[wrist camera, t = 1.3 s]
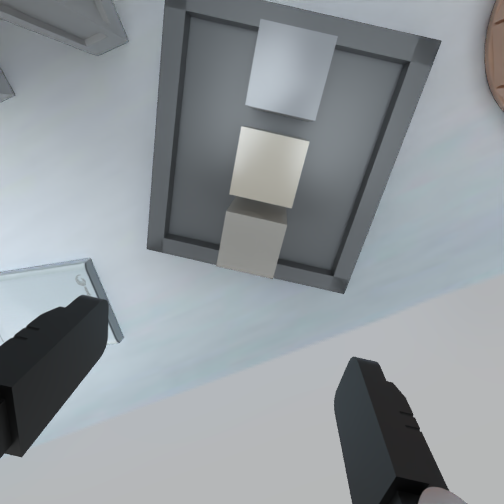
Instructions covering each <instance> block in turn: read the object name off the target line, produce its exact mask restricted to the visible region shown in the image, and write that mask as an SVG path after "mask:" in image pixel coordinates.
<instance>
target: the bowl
mask: <svg viewBox="0 0 504 504" xmlns="http://www.w3.org/2000/svg"><path fill="white" fill-rule="evenodd" d="M485 68H486V76H487V80H488V83H489V87H490V90H491V92H492V94H493V96H494V99H495V100H496V102H497V103H498V105H499V106H500V108H501V109H502V110H503V111H504V0H496V2H495V5H494V7H493V10H492V13H491V17H490V21H489V25H488V28H487V35H486V42H485Z"/></svg>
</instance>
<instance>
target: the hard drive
mask: <svg viewBox="0 0 504 504" xmlns="http://www.w3.org/2000/svg"><path fill="white" fill-rule="evenodd" d="M80 295H87V296H92V297H96V298H101V299H105V300H107V301H108V298H107V296H106V294H105V291H104V289H103V287H102V284H101V282H100V280H99V277H98V275H97V272H96V270H95V268H94V265H93V263H92V261H91V258H89V259H82V260H76V261H69V262H63V263H56V264H49V265H43V266H37V267H30V268H24V269H17V270H11V271H5V272H0V346H1V345H2V344H3V343H5V342H6V341H7V340H9V339H10V338H13V337H14V335H15V334H16V333H18V332H19V331H20V330H21V329H23V328H26V326H27V325H28V324H29V323H30V322H32V321H33V320H34V319H36V318H37V317H38V316H39V315H41V314H43V313H45V312H48V311H50V310H52V309H55V308H57V307H59V306H61V307H66V306H68V305H69V304H70V303H71V302H72V301H74V300H75V299H76V298H77V297H79V296H80ZM108 304H109V315H108V341H107V345H110V344H119V343H120V342H121V341H122V339H123V338H124V336H123V334H122V332H121V329H120V327H119V324H118V322H117V320H116V317H115V315H114V313H113V310H112V308H111V305H110V303H109V301H108Z"/></svg>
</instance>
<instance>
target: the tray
mask: <svg viewBox="0 0 504 504" xmlns="http://www.w3.org/2000/svg"><path fill="white" fill-rule="evenodd" d="M260 19H264V20H268V21H273V22H277V23H281V24H286V25H290V26H295V27H299V28H304V29H308V30H312V31H317V32H321V33H326V34H330V35H334V36H338V38H337V41H336V45H335V49H334V53H333V56H332V60H331V64H330V68H329V71H328V75H327V79H326V83H325V86H324V90H323V94H322V97H321V101H320V105H319V109H318V112H317V116H316V120H315V121H312V122H305V121H301V120H296V119H292V118H287V117H283V116H279V115H274V114H270V113H265V112H261V111H257V110H253V109H251V108H249V107H248V106H246V105H245V103H246V98H247V92H248V86H249V81H250V75H251V70H252V64H253V58H254V53H255V47H256V42H257V36H258V30H259V25H260ZM440 44H441V41H440V40H436V39H431V38H427V37H423V36H418V35H414V34H409V33H405V32H400V31H396V30H392V29H387V28H383V27H378V26H374V25H370V24H365V23H361V22H356V21H352V20H348V19H343V18H339V17H334V16H330V15H325V14H321V13H317V12H312V11H308V10H303V9H299V8H295V7H290V6H286V5H281V4H277V3H272V2H268V1H264V0H165V7H164V20H163V34H162V47H161V61H160V75H159V88H158V102H157V116H156V129H155V143H154V157H153V170H152V184H151V197H150V211H149V225H148V238H147V249H149V250H153V251H158V252H162V253H166V254H171V255H175V256H180V257H184V258H188V259H193V260H197V261H202V262H206V263H210V264H215V265H217V260H218V254H219V248H220V243H221V237H222V232H223V226H224V221H225V215H226V211H227V209H228V208H229V206H230V204H231V203H232V201H233V200H234V198H235V197H236V196H235V195H230V194H229V193H230V187H231V181H232V176H233V170H234V165H235V159H236V153H237V148H238V142H239V137H240V131H241V126H251V127H255V128H260V129H264V130H268V131H273V132H277V133H282V134H286V135H290V136H295V137H299V138H304V139H305V140H307V141H309V146H308V150H307V153H306V157H305V161H304V165H303V168H302V172H301V176H300V179H299V183H298V187H297V191H296V194H295V198H294V202H293V206H292V208H288V207H286V213H287V228H286V232H285V235H284V239H283V243H282V247H281V250H280V254H279V258H278V262H277V265H276V269H275V273H274V276H273V278H276V279H280V280H285V281H289V282H294V283H298V284H302V285H307V286H311V287H316V288H320V289H324V290H329V291H333V292H338V293H342V294H344V293H345V290H346V288H347V285H348V283H349V280H350V277H351V275H352V272H353V270H354V267H355V264H356V262H357V259H358V257H359V254H360V252H361V249H362V246H363V244H364V241H365V239H366V236H367V233H368V231H369V228H370V226H371V223H372V220H373V218H374V215H375V213H376V210H377V207H378V205H379V202H380V200H381V197H382V194H383V192H384V189H385V187H386V184H387V181H388V179H389V176H390V174H391V171H392V168H393V166H394V163H395V161H396V158H397V155H398V153H399V150H400V148H401V145H402V142H403V140H404V137H405V135H406V132H407V129H408V127H409V124H410V122H411V119H412V116H413V114H414V111H415V109H416V106H417V104H418V101H419V98H420V96H421V93H422V91H423V88H424V85H425V83H426V80H427V78H428V75H429V72H430V70H431V67H432V65H433V62H434V59H435V57H436V54H437V52H438V49H439V46H440Z"/></svg>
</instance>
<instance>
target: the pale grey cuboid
mask: <svg viewBox="0 0 504 504" xmlns="http://www.w3.org/2000/svg"><path fill="white" fill-rule="evenodd" d="M286 228H287V213H286V207H283V206H279V205H274V204H270V203H266V202H261V201H257V200H252V199H248V198H244V197H239V196H236V197H235V198H234V200H233V201H232V203H231V204H230V206H229V208H228V209H227V211H226V215H225V221H224V226H223V232H222V237H221V243H220V248H219V254H218V260H217V265H216V266H218V267H222V268H227V269H231V270H235V271H240V272H244V273H249V274H253V275H257V276H262V277H266V278H270V279H273V276H274V273H275V269H276V265H277V262H278V258H279V254H280V250H281V247H282V243H283V239H284V235H285V232H286Z"/></svg>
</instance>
